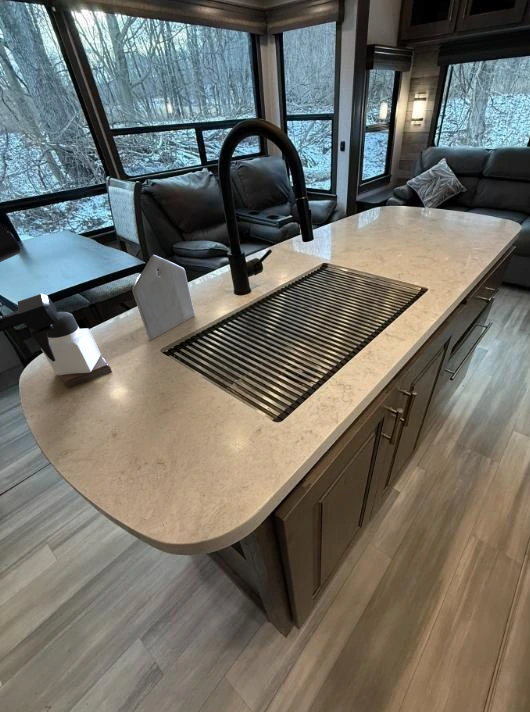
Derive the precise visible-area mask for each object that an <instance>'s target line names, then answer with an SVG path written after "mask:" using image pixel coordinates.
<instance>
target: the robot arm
mask: <svg viewBox="0 0 530 712" xmlns="http://www.w3.org/2000/svg"><path fill="white" fill-rule="evenodd" d="M21 251H22V250H21V246H20V245H19V243H18V241H17V239H16V238H15V236H14V235H13V234H12V232H11V231H9V230H7V229H6V228H5V227H4V225H3V224H1V223H0V263H1V262H4V261H6V260H8V259H11V258H13V257H15V256H18V255H19V254H21ZM2 306H3V304H2V302H0V313H1V312H2ZM57 312H58V311H57V306H56V304H55V303H54V302H53V301H52V300H51V298H50V296H48V295H45V294H43V293H39V294H36V295H33V296H31V297H28V298H25V299H22V300H21V299H20V300H18V301H17V310H15V311H12V312H10V313H6V314H3V315H0V333H1V332H4V331H7V330H9V329H12V328H15V327H18V326H21V325H23V324H24V325H25V326H26V328H27V329H29V331H30V335H31V337H32V338H33V339H34V341H35V342H36V344H37V345H38V346H39V348H40V350H41V349H42V350H43V351H44V353H45V354H46V355H47V357H48V358H49V359H50V360H52V361H53V362H54V361H55V357H54V354H53V351H52V348H51V345H50V342H49V339H48V336H47V332H48V331H50V330H52V329H53V325H52V324H55V323H56V322H57V321H59V319H58V315H57ZM42 350H41V351H42ZM43 351H42V352H43ZM44 353H43V354H44Z"/></svg>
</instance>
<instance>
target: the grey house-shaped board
mask: <svg viewBox="0 0 530 712" xmlns="http://www.w3.org/2000/svg"><path fill="white" fill-rule="evenodd" d="M131 290H132V295H133V297H134V301H135V303H136V306H137V309H138V312H139V315H140V317H141V320H142V324H143V326H144V330H145V333H146V335H147V338H148V340H149V341H153V340H154V339H156V338H158V337H160V336H161V335H163V334H165V333H167V332H169V331H170V330H172V329H174V328H175V327H177V326H179V325H181V324H183V323H185V322H186V321H188V320H190V319H191V318H193V317H195V316H196V313H195V308H194V304H193V300H192V295H191V290H190V287H189V282H188V278H187V274H186V270H185V268H184V267H182V266H180V265H178V264H176V263H174V262H172V261H170V260H168V259H166V258H163V257H161V256H158V255H156V254H153V255H151V257H150V258H149V260H148V261H147V263H146V265H145V267H144V268H143V270H142V272H141V273H139V274H138V276H137V278H136V280H135V282H134V285H133V286H132V289H131Z"/></svg>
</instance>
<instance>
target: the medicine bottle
mask: <svg viewBox="0 0 530 712" xmlns="http://www.w3.org/2000/svg"><path fill="white" fill-rule="evenodd" d="M57 315H58V319H59V321H57V322H56V323H55V324H52V325H53V329H52V330H50V331H48V332H47V336H48V339H49V342H50V345H51V348H52V351H53V354H54V357H55V361H54V362H53V361H52V360H50V359H49V358H48V357H47V355H46V354H45V353H44V351H43V350H42V349H41V348H40V350H41V351H42V353H43V355H44V356H45V358H46V360H47V361H48V364H49V365H50V366H51V368H52V370H53V372H54V373H55V375H56V376H61V375H66V374H77V373H88V372H91V371H92V369H93V368H94V366H95V364H96V362H97V361H98V359H99V357H100V356H102V353H101V351H100V349H99V347H98V344H97V342H96V341H95V338H94V336H93V334H92V332H91V330H90V328H80V327H79V325H78V323H77V321H76V318H75V317H74V315H73V314H72V313H70V312H68V311H57Z"/></svg>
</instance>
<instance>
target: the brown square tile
mask: <svg viewBox="0 0 530 712" xmlns="http://www.w3.org/2000/svg"><path fill="white" fill-rule="evenodd" d="M112 372H113V371H112V368H111V366H110V365H109V364H108V362H107V361H106V359H105V358H104V357H103V355H101V356H100V357H99V359H98V361H97V362H96V364H95V366H94V368H93V369H92V371H91V372H88V373H77V374H66V375H60V377H61V379H62V381H63V382H64V384H65V386H66V387H67V389H68V390H69V389H72V388H74V387H78V386H79V385H82V384H85V383H87V382H90V381H93V380H94V379H97V378H100V377H102V376H105V375H107V374H110V373H112Z"/></svg>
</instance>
